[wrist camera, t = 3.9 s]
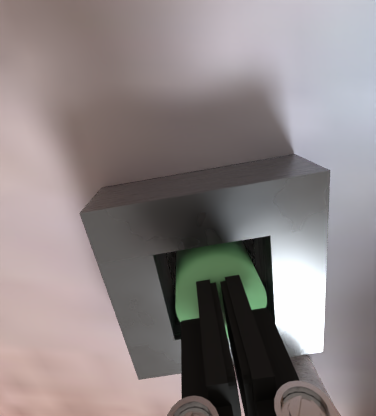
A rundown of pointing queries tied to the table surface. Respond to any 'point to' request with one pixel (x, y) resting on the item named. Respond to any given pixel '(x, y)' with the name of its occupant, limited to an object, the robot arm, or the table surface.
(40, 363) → the table surface
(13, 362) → the table surface
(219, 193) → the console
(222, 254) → the button
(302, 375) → the cylinder
